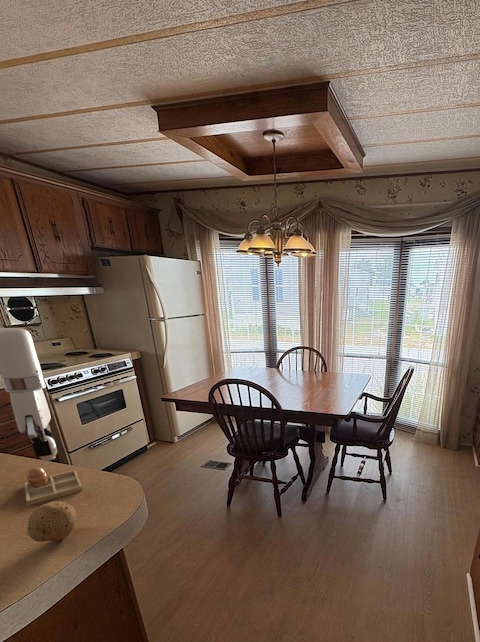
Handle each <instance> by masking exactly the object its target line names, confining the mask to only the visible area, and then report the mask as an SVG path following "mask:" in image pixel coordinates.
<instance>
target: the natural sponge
mask: <svg viewBox="0 0 480 642" xmlns="http://www.w3.org/2000/svg"><path fill="white" fill-rule="evenodd" d="M76 519H77V513H76V510H75V508H74V507H73V506H72V505H71V504H70V503H67V502H64V501H60V500H59V501H51V502H47V503H44V504H42V505H40V506H38V507H37V508H35V510H33V511H32V513H31V514H30V515H29V517H28V521H27V534H28V536H29V537H30V538H31V539H32V540H33V541H35V542H41V543H43V542H48V541H49V542H50V541H51V542H59V541H63V540H66V538H67V537H68V536H69V535H70V534H71V533H72V532H73V530H74V528H75V525H76Z"/></svg>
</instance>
